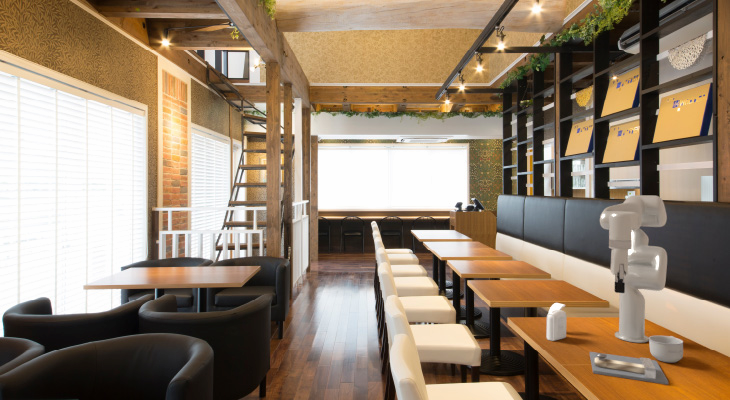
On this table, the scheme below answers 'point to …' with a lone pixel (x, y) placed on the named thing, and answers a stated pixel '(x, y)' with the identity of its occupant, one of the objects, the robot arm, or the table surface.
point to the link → (617, 364)
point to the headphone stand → (556, 307)
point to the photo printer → (556, 325)
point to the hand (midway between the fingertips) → (619, 292)
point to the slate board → (627, 374)
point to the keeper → (648, 368)
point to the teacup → (666, 348)
